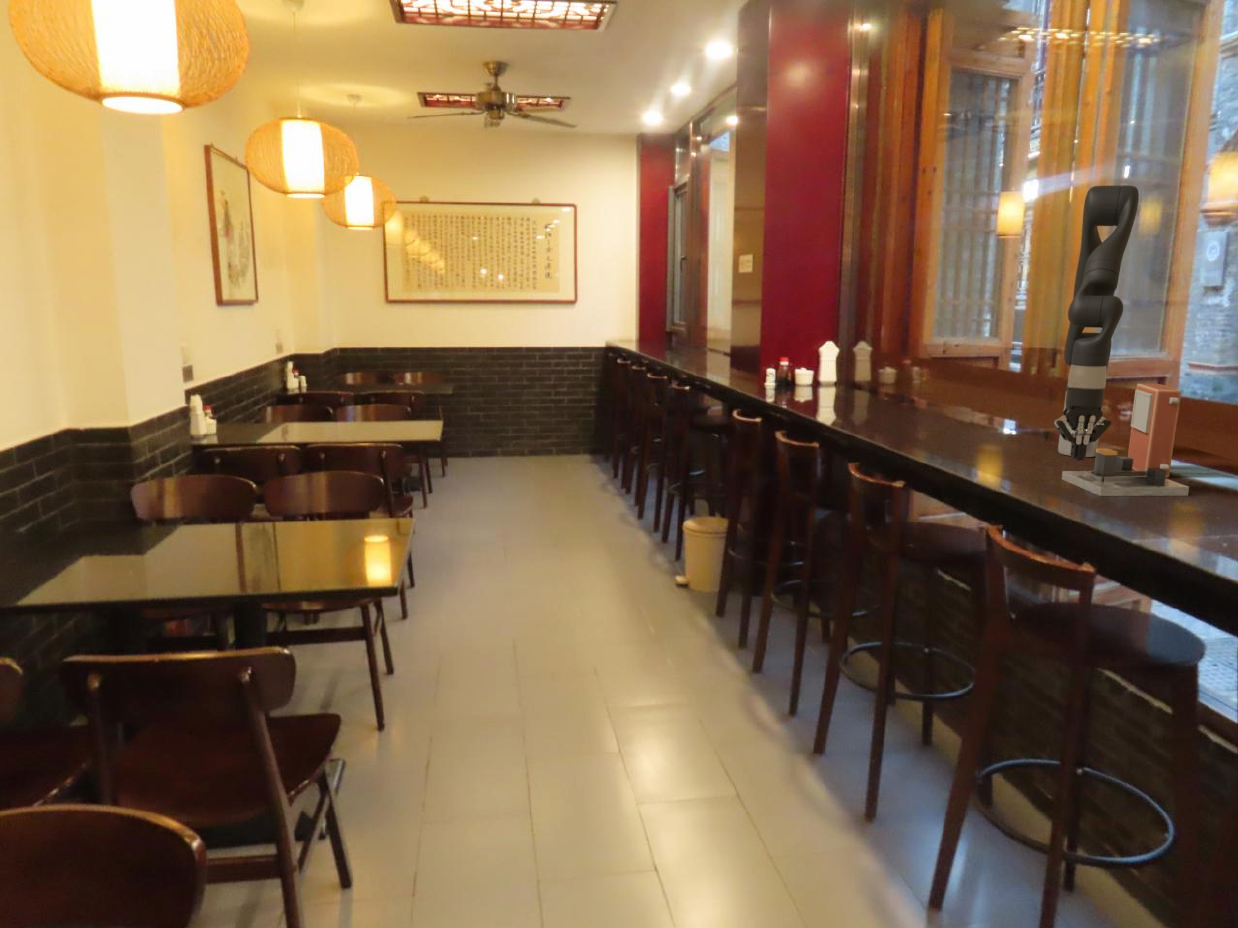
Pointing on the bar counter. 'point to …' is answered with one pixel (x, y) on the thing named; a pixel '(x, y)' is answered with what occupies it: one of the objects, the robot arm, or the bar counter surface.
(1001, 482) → the bar counter surface
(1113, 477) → the breaker board
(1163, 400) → the orange rectangular box
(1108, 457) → the block
